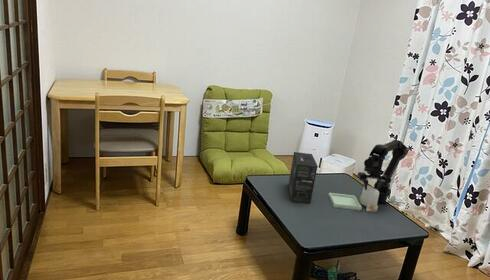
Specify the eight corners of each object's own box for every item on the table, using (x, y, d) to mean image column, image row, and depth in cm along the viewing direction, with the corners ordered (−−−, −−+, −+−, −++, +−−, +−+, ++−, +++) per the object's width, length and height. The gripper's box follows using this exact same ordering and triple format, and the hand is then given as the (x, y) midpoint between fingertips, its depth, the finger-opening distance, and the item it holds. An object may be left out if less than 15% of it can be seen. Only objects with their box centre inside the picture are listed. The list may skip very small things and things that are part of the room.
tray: (353, 199, 236) (354, 195, 235) (361, 210, 220) (361, 206, 220) (328, 196, 235) (329, 192, 235) (334, 207, 220) (334, 203, 219)
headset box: (311, 203, 221) (318, 162, 214) (290, 201, 221) (297, 159, 214) (305, 188, 243) (312, 150, 236) (287, 186, 243) (293, 148, 236)
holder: (368, 201, 235) (370, 196, 234) (376, 211, 221) (377, 206, 220) (359, 200, 235) (360, 195, 234) (366, 210, 221) (367, 205, 220)
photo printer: (358, 203, 231) (362, 184, 228) (362, 202, 233) (367, 183, 230) (372, 210, 223) (377, 191, 220) (377, 209, 226) (381, 190, 222)
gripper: (387, 163, 229) (381, 187, 233) (357, 160, 229) (352, 183, 233) (394, 170, 219) (388, 194, 223) (362, 166, 218) (357, 191, 222)
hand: (371, 190), depth 225 cm, fingers open, 7 cm apart
